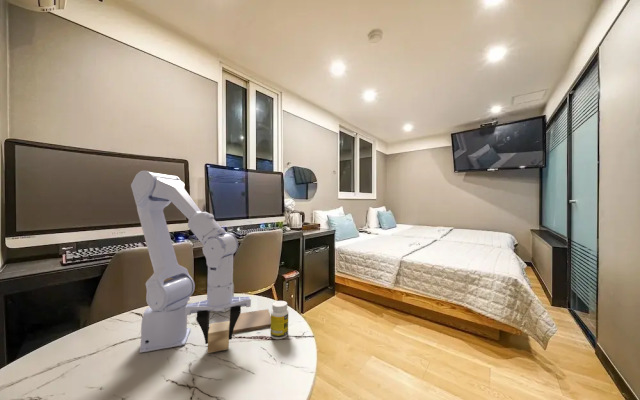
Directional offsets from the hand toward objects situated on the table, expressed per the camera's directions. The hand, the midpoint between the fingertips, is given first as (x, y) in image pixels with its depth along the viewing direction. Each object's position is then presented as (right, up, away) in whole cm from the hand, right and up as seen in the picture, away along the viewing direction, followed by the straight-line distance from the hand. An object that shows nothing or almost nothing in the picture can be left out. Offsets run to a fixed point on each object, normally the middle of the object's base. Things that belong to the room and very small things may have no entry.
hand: (218, 339), depth 56 cm
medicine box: (-9, -3, +22) cm, 24 cm away
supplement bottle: (+14, -3, +6) cm, 15 cm away
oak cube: (0, -2, 0) cm, 2 cm away
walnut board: (+4, -3, +13) cm, 14 cm away
